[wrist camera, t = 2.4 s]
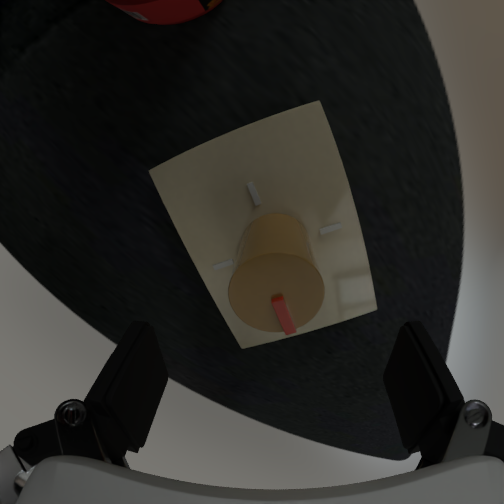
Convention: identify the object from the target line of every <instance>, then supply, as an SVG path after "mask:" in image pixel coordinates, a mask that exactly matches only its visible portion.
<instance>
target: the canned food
mask: <svg viewBox="0 0 504 504" xmlns="http://www.w3.org/2000/svg"><path fill="white" fill-rule="evenodd" d="M105 1H107V2H109V3H111V4H112V5H114V6H116V7H117V8H119V9H121V10H122V11H124V12H126V13H127V14H129V15H130V16H132V17H134V18H136V19H137V20H139V21H142V22H145V23H150V24H160V25H171V24H178V23H184V22H187V21H190V20H193V19H196V18H198V17H200V16H202V15H204V14H206V13H207V12H209V11H211V10H212V9H214V8H215V7H216V6H217V5H218V4H220V3H221V2H222V0H105Z"/></svg>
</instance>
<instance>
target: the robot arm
mask: <svg viewBox="0 0 504 504" xmlns="http://www.w3.org/2000/svg"><path fill="white" fill-rule="evenodd" d="M167 381H168V372H167V369H166V366H165V363H164V360H163V357H162V354H161V351H160V347H159V344H158V341H157V338H156V334H155V331H154V328H153V327H152V326H150V325H149V323H148V322H142V321H133V322H132V323H131V325H130V326H129V328H128V329H127V331H126V333H125V334H124V336H123V337H122V339H121V340H120V342H119V344H118V345H117V347H116V348H115V350H114V352H113V353H112V354H111V356H110V358H109V359H108V361H107V362H106V364H105V366H104V367H103V369H102V371H101V372H100V374H99V376H98V377H97V379H96V381H95V383H94V384H93V386H92V387H91V389H90V391H89V393H88V394H87V396H86V398H85V400H84V402H83V401H81V400H78V399H70V400H67V401H64V402H63V403H61V404H60V405H59V406H58V408H57V409H56V411H55V414H54V419H53V420H49V421H47V422H44V423H41V424H38V425H35V426H32V427H29V428H27V429H24V430H22V431H20V432H19V433H18V434H17V435H16V437H15V440H14V446H13V447H12V446H11V445H9V446H7V447H6V448H4V449H3V450H2V451H0V504H504V425H501V424H499V423H497V422H495V421H492V413H491V410H490V408H489V407H488V406H487V405H486V404H485V403H484V402H482V401H480V400H470V401H468V402H466V403H465V401H464V398H463V396H462V394H461V392H460V390H459V388H458V386H457V384H456V382H455V380H454V378H453V376H452V374H451V372H450V371H449V369H448V367H447V365H446V363H445V361H444V360H443V358H442V356H441V354H440V353H439V351H438V349H437V347H436V346H435V344H434V342H433V341H432V339H431V337H430V336H429V334H428V332H427V331H426V329H425V328H424V326H423V324H422V323H421V322H420V321H411V322H406V323H405V324H404V326H402V327H401V328H400V330H399V333H398V336H397V339H396V342H395V345H394V348H393V351H392V353H391V356H390V359H389V361H388V364H387V367H386V369H385V372H384V375H383V381H384V384H385V387H386V390H387V393H388V396H389V399H390V403H391V406H392V409H393V412H394V415H395V419H396V422H397V426H398V429H399V433H400V436H401V440H402V443H403V446H404V448H405V449H408V453H409V454H412V453H415V452H419V451H420V452H421V456H422V458H421V460H420V462H419V464H418V466H417V468H416V469H415V471H411V472H407V473H404V474H399V475H395V476H391V477H386V478H382V479H377V480H372V481H367V482H361V483H355V484H349V485H341V486H333V487H323V488H310V489H288V490H263V489H241V488H229V487H219V486H209V485H203V484H196V483H190V482H184V481H179V480H174V479H168V478H164V477H160V476H155V475H151V474H147V473H143V472H139V471H135V470H131V469H130V467H129V465H128V463H127V461H126V459H125V454H126V451H127V450H128V451H132V452H135V453H138V451H139V448H140V447H141V448H142V447H143V446H144V444H145V442H146V439H147V436H148V433H149V431H150V428H151V425H152V422H153V419H154V417H155V414H156V411H157V408H158V405H159V403H160V400H161V397H162V395H163V392H164V389H165V387H166V384H167Z"/></svg>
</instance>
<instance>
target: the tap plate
mask: <svg viewBox="0 0 504 504" xmlns="http://www.w3.org/2000/svg"><path fill="white" fill-rule="evenodd" d="M149 173H150V175H151V177H152V180H153V182H154V184H155V186H156V188H157V190H158V192H159V194H160V197H161V199H162V201H163V203H164V205H165V207H166V209H167V211H168V213H169V215H170V217H171V219H172V221H173V223H174V225H175V227H176V229H177V231H178V233H179V235H180V237H181V239H182V241H183V243H184V245H185V247H186V249H187V251H188V253H189V255H190V257H191V259H192V261H193V262H194V264H195V266H196V268H197V270H198V272H199V274H200V276H201V277H202V279H203V281H204V283H205V285H206V287H207V289H208V290H209V292H210V294H211V296H212V298H213V299H214V301H215V303H216V305H217V307H218V308H219V310H220V312H221V314H222V315H223V317H224V319H225V321H226V322H227V324H228V326H229V328H230V329H231V331H232V333H233V335H234V336H235V338H236V340H237V341H238V343H239V345H240V346H241V348H242V349H243V348H248V347H252V346H256V345H260V344H265V343H269V342H273V341H276V340H280V339H284V338H288V337H291V336H295V335H299V334H302V333H306V332H309V331H313V330H316V329H319V328H323V327H326V326H329V325H333V324H336V323H339V322H342V321H345V320H348V319H351V318H354V317H357V316H360V315H363V314H366V313H369V312H372V311H375V310H377V305H376V299H375V293H374V287H373V282H372V277H371V272H370V267H369V262H368V257H367V253H366V248H365V244H364V239H363V235H362V231H361V227H360V223H359V219H358V215H357V211H356V208H355V204H354V200H353V197H352V193H351V190H350V186H349V183H348V180H347V176H346V173H345V170H344V167H343V164H342V161H341V158H340V155H339V152H338V149H337V146H336V143H335V140H334V137H333V134H332V131H331V129H330V126H329V123H328V121H327V118H326V115H325V113H324V110H323V108H322V105H321V103H320V101H315V102H312V103H309V104H305V105H302V106H299V107H296V108H293V109H290V110H287V111H284V112H281V113H278V114H275V115H273V116H270V117H267V118H264V119H262V120H259V121H256V122H254V123H251V124H248V125H246V126H243V127H241V128H238V129H236V130H233V131H231V132H229V133H226V134H224V135H221V136H219V137H217V138H215V139H212V140H210V141H208V142H205V143H203V144H201V145H199V146H197V147H195V148H192V149H190V150H188V151H186V152H184V153H182V154H180V155H178V156H176V157H174V158H172V159H170V160H168V161H166V162H164V163H162V164H160V165H158V166H156V167H154V168H152V169H150V170H149ZM271 213H280V214H286V215H289V216H291V217H293V218H295V219H297V220H298V221H299V222H300V223H301V224H303V226H304V227H305V228H306V230H307V232H308V234H309V236H310V239H311V243H312V246H313V249H314V252H315V255H316V259H317V262H318V265H319V268H320V272H321V275H322V279H323V282H324V287H325V295H324V300H323V303H322V306H321V308H320V310H319V311H318V313H317V314H316V315H315V316H314V317H313V318H312V319H311V320H310V321H309V322H308V323H306V324H305V325H303V326H301V327H299V328H297V329H296V331H297V332H296V333H293V334H289V335H285V333H284V332H266V331H261V330H258V329H255V328H253V327H251V326H249V325H247V324H246V323H244V322H243V321H242V320H241V319H240V318H239V317H238V316H237V315H236V314H235V312H234V311H233V309H232V307H231V305H230V302H229V297H228V287H229V282H230V279H231V275H232V271H233V267H234V264H235V260H236V256H237V252H238V249H239V245H240V241H241V237H242V235H243V232H244V230H245V229H246V227H247V226H248V225H249V224H250V223H251V222H252V221H253V220H255V219H256V218H258V217H260V216H263V215H266V214H271Z"/></svg>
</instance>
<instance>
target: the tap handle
mask: <svg viewBox="0 0 504 504" xmlns="http://www.w3.org/2000/svg"><path fill="white" fill-rule="evenodd" d="M324 295H325V287H324V282H323V279H322V275H321V272H320V268H319V265H318V262H317V259H316V255H315V252H314V249H313V246H312V243H311V239H310V236H309V234H308V232H307V230H306V228H305V227H304V226H303V224H301V223H300V222H299V221H298V220H297V219H295V218H293V217H291V216H289V215H286V214H280V213H271V214H266V215H263V216H260V217H258V218H256V219H255V220H253V221H252V222H251V223H250V224H249V225H248V226H247V227H246V229H245V230H244V232H243V235H242V237H241V241H240V245H239V249H238V252H237V256H236V260H235V264H234V267H233V271H232V275H231V279H230V282H229V287H228V297H229V302H230V305H231V307H232V309H233V311H234V312H235V314H236V315H237V316H238V317H239V318H240V319H241V320H242V321H243V322H244V323H246V324H247V325H249V326H251V327H253V328H255V329H258V330H261V331H266V332H284V333H285V335H289V334H293V333H296V332H297V331H296V329H297V328H299V327H301V326H303V325H305V324H306V323H308V322H309V321H310V320H311V319H312V318H313V317H314V316H315V315H316V314H317V313H318V311H319V310H320V308H321V306H322V303H323V300H324Z"/></svg>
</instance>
